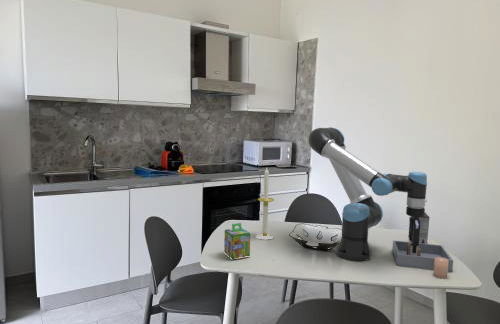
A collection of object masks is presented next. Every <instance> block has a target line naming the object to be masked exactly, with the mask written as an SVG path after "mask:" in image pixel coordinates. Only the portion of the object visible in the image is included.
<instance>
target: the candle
mask: <svg viewBox="0 0 500 324" xmlns="http://www.w3.org/2000/svg"><path fill="white" fill-rule="evenodd" d="M269 174H270V172H269V170H268V167H266V168H265V170H264V177H263V179H264V181H263V184H264V185H263V188H264V189H263V197H259V198H257V201H259V202H262V203H263V206H262V234H263V236H267V234H268V223H269V222H268V219H269V218H268V217H269V203H271V202H274V201H275V199H274V198H272V197H269V177H270V176H269Z"/></svg>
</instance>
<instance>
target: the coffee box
mask: <svg viewBox="0 0 500 324" xmlns="http://www.w3.org/2000/svg"><path fill="white" fill-rule="evenodd" d="M419 221H420V225H421V226H420V234H419V243H423V244H428V240H429V239H428V236H429V228H430V227H429V226H430V215H428V214H427V213H426V212H425V215H424V216H423V217H419Z"/></svg>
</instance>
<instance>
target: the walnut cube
mask: <svg viewBox="0 0 500 324" xmlns="http://www.w3.org/2000/svg"><path fill="white" fill-rule="evenodd" d="M410 250H411V245H407V254H406V255H410ZM420 254H421V249H420V248H419V246H418V249H417V256H420Z"/></svg>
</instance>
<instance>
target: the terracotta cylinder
mask: <svg viewBox="0 0 500 324" xmlns="http://www.w3.org/2000/svg"><path fill="white" fill-rule="evenodd" d="M448 261H449V260H448V259H446V258H443V257H435V260H434V270H433V273H432V274H433V276H434V277H436V278H439V279H447V278H448Z"/></svg>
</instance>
